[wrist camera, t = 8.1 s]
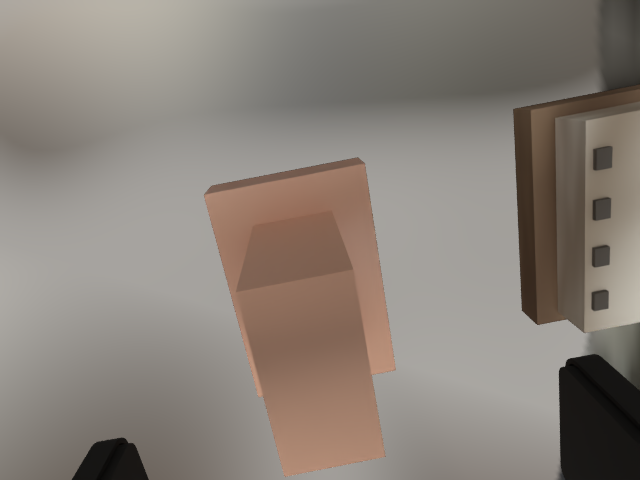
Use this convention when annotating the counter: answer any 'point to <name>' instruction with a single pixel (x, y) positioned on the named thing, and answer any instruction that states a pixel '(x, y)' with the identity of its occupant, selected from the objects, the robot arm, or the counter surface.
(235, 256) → the stub
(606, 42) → the counter surface
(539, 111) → the ticket pad
